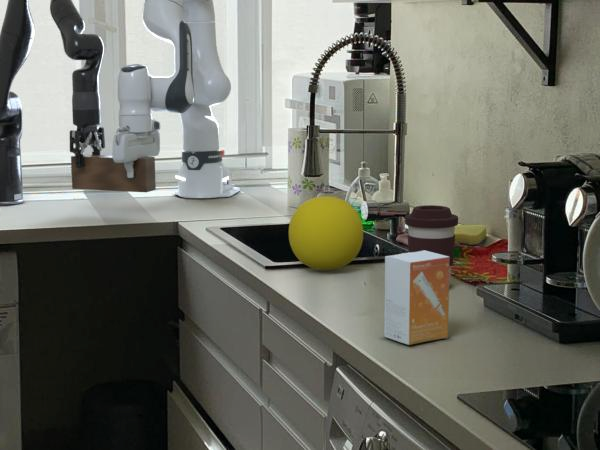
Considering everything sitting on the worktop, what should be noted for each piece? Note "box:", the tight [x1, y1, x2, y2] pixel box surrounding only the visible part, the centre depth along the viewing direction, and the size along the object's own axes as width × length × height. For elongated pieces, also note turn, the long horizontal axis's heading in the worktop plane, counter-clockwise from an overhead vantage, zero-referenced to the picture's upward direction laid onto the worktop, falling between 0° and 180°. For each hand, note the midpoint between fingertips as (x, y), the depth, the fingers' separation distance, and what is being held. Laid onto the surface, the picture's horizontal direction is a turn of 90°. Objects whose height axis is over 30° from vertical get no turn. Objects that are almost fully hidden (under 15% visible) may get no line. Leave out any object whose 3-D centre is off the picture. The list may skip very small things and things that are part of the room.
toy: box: [288, 195, 364, 271], centre depth 213 cm, size 15×15×15 cm
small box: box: [383, 250, 450, 346], centre depth 162 cm, size 8×6×13 cm
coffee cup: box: [404, 204, 459, 286], centre depth 197 cm, size 10×10×15 cm
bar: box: [70, 154, 157, 193], centre depth 288 cm, size 23×5×9 cm, turn 70°
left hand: (88, 166), depth 290 cm, fingers open, 8 cm apart
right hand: (137, 176), depth 285 cm, fingers closed on bar, 5 cm apart
